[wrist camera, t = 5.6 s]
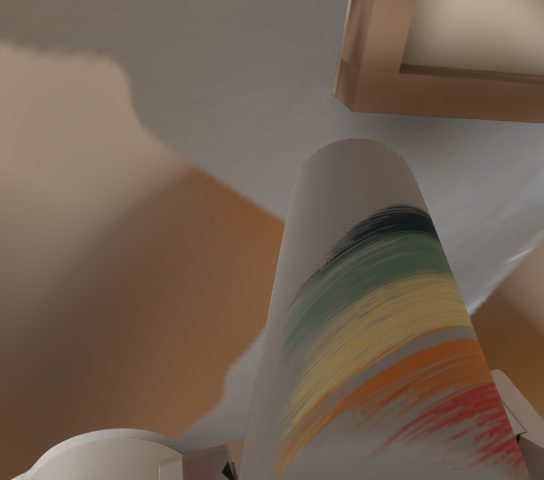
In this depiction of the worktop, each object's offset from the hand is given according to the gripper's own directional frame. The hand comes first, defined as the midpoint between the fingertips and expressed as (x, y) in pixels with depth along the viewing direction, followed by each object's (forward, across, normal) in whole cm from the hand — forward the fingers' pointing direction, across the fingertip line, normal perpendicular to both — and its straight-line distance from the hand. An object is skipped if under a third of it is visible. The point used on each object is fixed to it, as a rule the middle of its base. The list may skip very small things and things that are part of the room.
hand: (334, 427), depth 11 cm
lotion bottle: (+12, -5, +1) cm, 13 cm away
